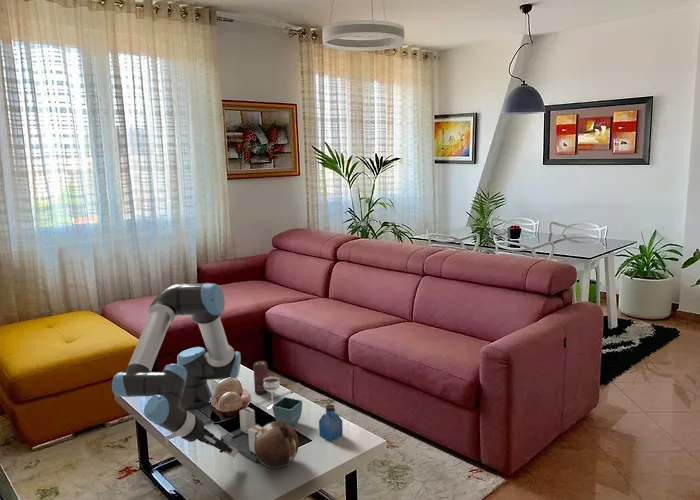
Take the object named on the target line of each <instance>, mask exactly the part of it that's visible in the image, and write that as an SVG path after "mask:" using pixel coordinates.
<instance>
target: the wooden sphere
mask: <svg viewBox="0 0 700 500" xmlns="http://www.w3.org/2000/svg"><path fill="white" fill-rule="evenodd" d="M299 444H300V442H299V436H298V434H297V432H296V430H295V429H294V428H293V426H292V427H291V426H290V425H288V424H287V423H284V422H280V421H276V420H275V421H270V422H268V423H266V424H265V425H264V426H262V428H261V429H260V430H259V432H258V433H257V435H256V438H255V442H254V449H255V454H256V456H257V458H258V459H259V462H260V463H261V464H262V465H264V466H265V467H268V468H271V469H281V468H284V467H285V466H287V465H289V464H290V463H291V462H293V460H294V459H295V458H296V456H297V453H298V450H299V447H300V446H299Z"/></svg>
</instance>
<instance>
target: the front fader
mask: <svg viewBox="0 0 700 500" xmlns="http://www.w3.org/2000/svg"><path fill="white" fill-rule="evenodd" d="M258 425H259V424H258ZM258 425H256V426H252V428H250V429H248V436H249V450H250V451H252V452H253V453H255V449H254V442H255V438H256V435H257V433H258V432H259V430H260V429H261V428H262V427H263V426H262V427H260V426H261V425H260V426H258Z"/></svg>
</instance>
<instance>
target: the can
mask: <svg viewBox="0 0 700 500" xmlns="http://www.w3.org/2000/svg"><path fill="white" fill-rule="evenodd" d="M268 369H269V368H268V363H267V361H266V360H256V361H254V362H253V381H254V382H253V384H254V385H253V386H254V393H255V394H256V395H259V396H261V395H262V396H263V395H266V394H268V393H269V392H268V391H267V390H265V388H264V386H263V384H264V381H263V380H264V379H265V378H267V377H269V372H268V371H269V370H268Z"/></svg>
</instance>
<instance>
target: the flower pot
mask: <svg viewBox="0 0 700 500" xmlns="http://www.w3.org/2000/svg"><path fill="white" fill-rule="evenodd" d="M273 404H274V405H273V406H272V407H273V409H272V411H273V416H274V419H275V421H280V422H284V423H287V424H288V425H290V426H291V427H292V428H293V427H294V426H295V425H296V424H297V423H298V422H299V420H300V419H301V417H302V410H303V400H301V399H298V398H297V399H296V398H291V397H286V396H284V397H282V398H281V399H280V400H278V401H277V402H276V403H273Z"/></svg>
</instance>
